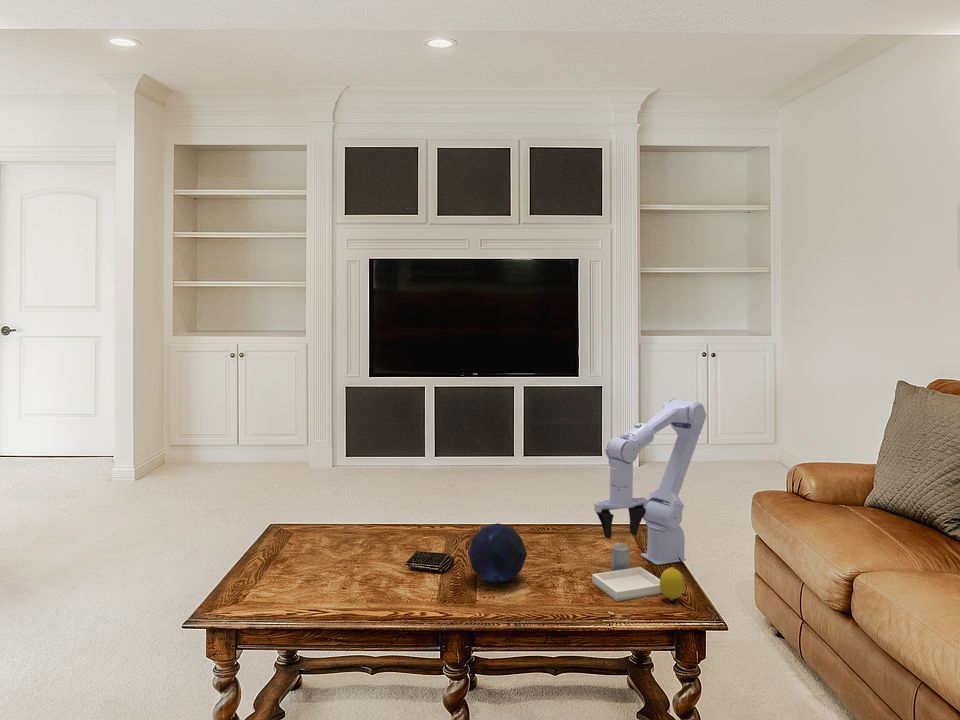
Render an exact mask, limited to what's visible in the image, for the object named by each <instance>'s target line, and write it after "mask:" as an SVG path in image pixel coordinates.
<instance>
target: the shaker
mask: <svg viewBox="0 0 960 720" xmlns="http://www.w3.org/2000/svg"><path fill="white" fill-rule="evenodd" d="M629 568H630V549H629V545H628V544H627V543H624V542H615V543H613V544H612V547H611V571H616V570H623V569H629Z"/></svg>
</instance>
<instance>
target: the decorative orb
mask: <svg viewBox="0 0 960 720" xmlns="http://www.w3.org/2000/svg"><path fill="white" fill-rule="evenodd" d="M467 554H468V558H469V561H470V564H471V568H472V570H473V571H474V573H475V574H477V576H478V577H479V579H480V580H483V581H486V582H488V583H491V584H492V583H493V584H495V585H500V584H503V583H508V582H511V581H514V579H515V578H516V577H517V575H519V573H520V572H521V571H522V569H523V567H524V564H525V561H526V558H527V555H528V553H527V550H526V547H525V544H524V541H523V538H522V537H521V536H520V535H519V534H518V531H516V529H515V528H514V527H512V526H509V525H505V524H502V523H500V522H499V523H498V522H497V523H494V524H490V525H486V526H482V527H481V528H480V529H479V531H478V532H476V534H475V535H474V536H473V537H472V540H471V543H470V545H469V549H468V551H467Z"/></svg>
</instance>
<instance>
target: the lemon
mask: <svg viewBox="0 0 960 720" xmlns="http://www.w3.org/2000/svg"><path fill="white" fill-rule="evenodd" d="M659 579H660V589H661V591H662V593H663V596H665V597H666V598H668V599H669V601H674V600H675V599H677V598H680V596H682V595H683V592H684V588H685V581H684V576H683V575H682V573H681V572H680V571H679V570H678V569H676V568H675V567H674V566H671V567H670V568H666V569H664V571H663V572H662V573H661V576H660V578H659Z"/></svg>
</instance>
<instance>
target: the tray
mask: <svg viewBox="0 0 960 720" xmlns="http://www.w3.org/2000/svg"><path fill="white" fill-rule="evenodd" d="M591 583H592V584H593V585H594V586H595V587H597V588H599V590H601V592H604V593H605V594H606V595H608V596H609V597H610V598H611V599H613V600H614V601H615V602H620V601H627V600H632V599H639V598H645V597H651V596H657V595H661V594H663V593H662V591H661V589H660V578H658V577H657V576H656V575H653V573H651V572H649V571H648V570H646V569H645V568H643V567H641V566H637V567H629V569H623V570H616V571H612V570H610V571H604V572H599V573H592V574H591ZM663 595H664V594H663Z"/></svg>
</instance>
